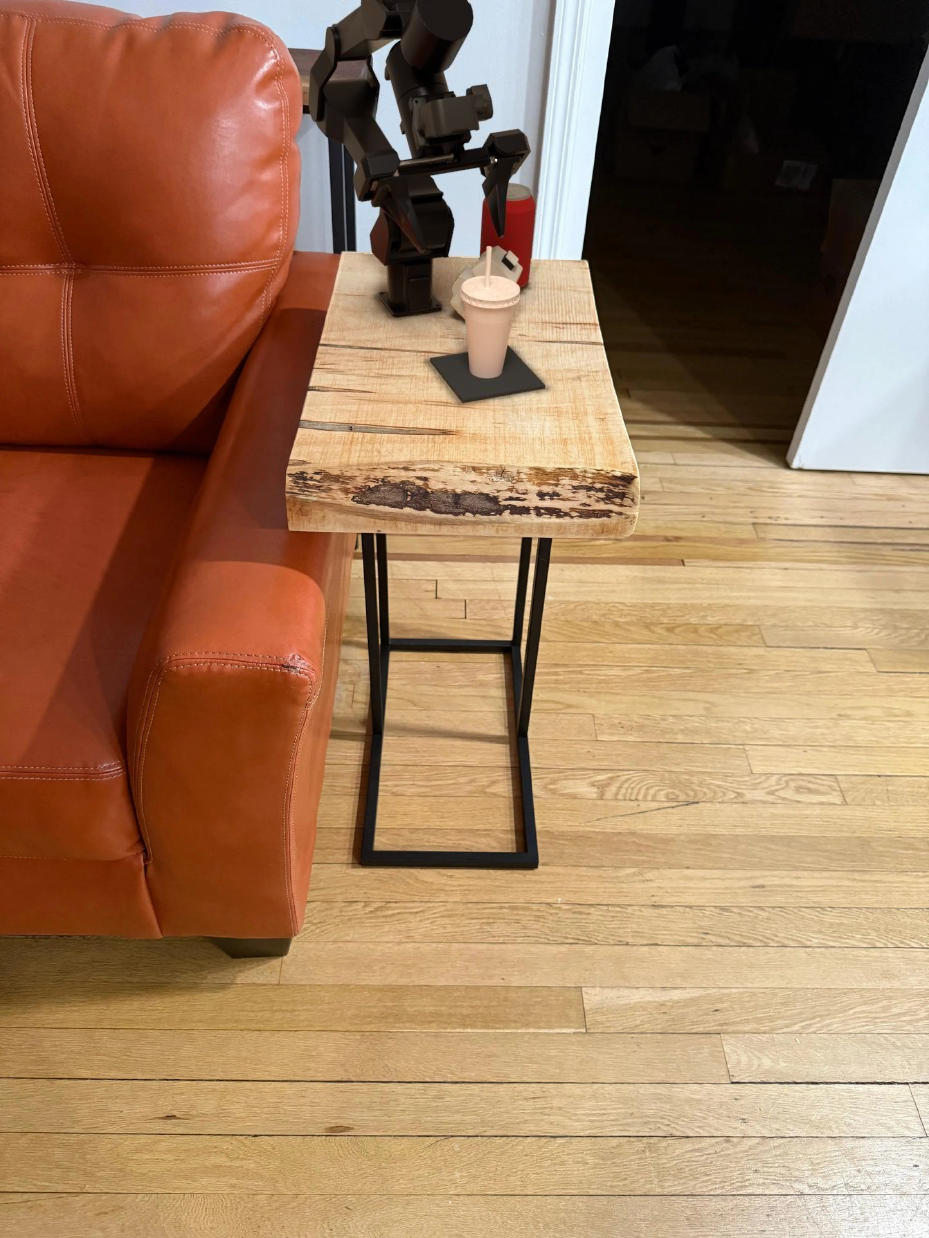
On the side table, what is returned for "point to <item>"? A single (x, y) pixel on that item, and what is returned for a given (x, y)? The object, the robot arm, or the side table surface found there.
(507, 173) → the robot arm
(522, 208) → the beverage can
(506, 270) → the tape dispenser
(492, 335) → the smoothie
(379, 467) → the side table surface
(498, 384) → the coaster
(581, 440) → the side table surface
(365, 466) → the side table surface
